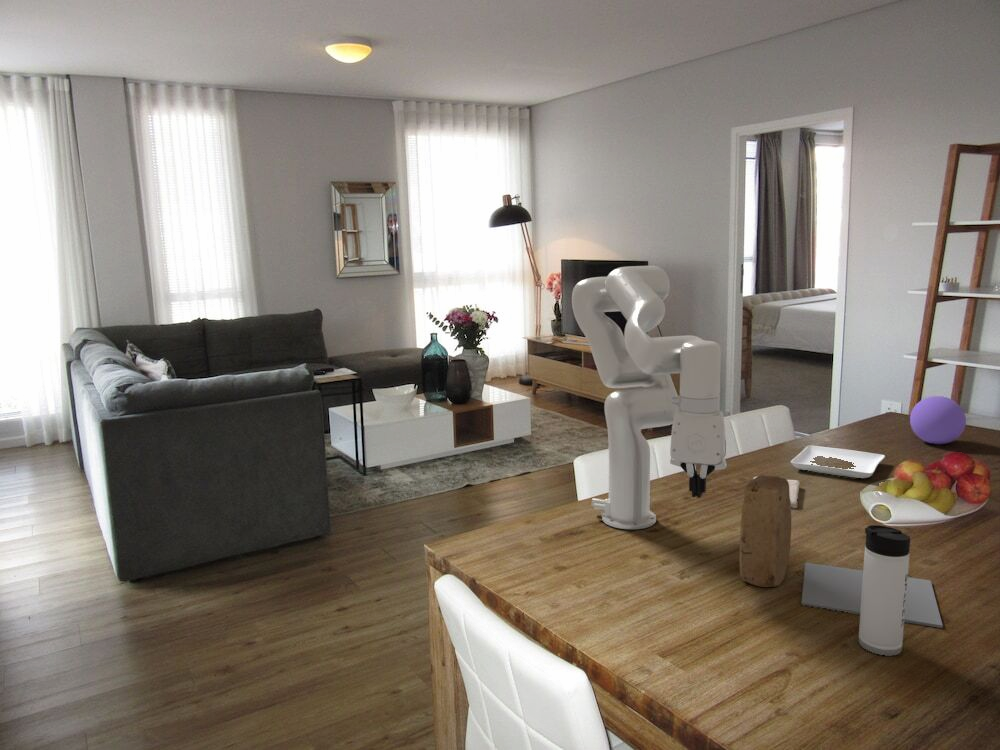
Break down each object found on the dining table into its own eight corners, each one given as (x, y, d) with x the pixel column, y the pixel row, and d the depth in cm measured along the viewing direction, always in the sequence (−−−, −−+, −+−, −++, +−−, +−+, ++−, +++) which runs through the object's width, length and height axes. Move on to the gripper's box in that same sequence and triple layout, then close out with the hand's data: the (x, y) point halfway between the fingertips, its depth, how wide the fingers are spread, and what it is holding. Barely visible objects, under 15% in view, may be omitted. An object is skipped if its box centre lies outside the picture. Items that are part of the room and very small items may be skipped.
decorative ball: (959, 439, 236) (964, 393, 234) (967, 452, 223) (971, 403, 220) (906, 435, 243) (909, 390, 240) (910, 447, 229) (914, 399, 226)
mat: (801, 604, 133) (801, 602, 133) (805, 564, 150) (805, 562, 150) (942, 628, 125) (942, 625, 125) (930, 582, 141) (930, 580, 141)
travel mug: (848, 637, 122) (856, 522, 119) (886, 634, 123) (895, 520, 119) (870, 658, 116) (879, 537, 113) (910, 655, 117) (920, 535, 113)
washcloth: (799, 488, 196) (800, 477, 195) (798, 511, 180) (799, 499, 179) (752, 483, 200) (752, 472, 200) (746, 505, 184) (747, 494, 184)
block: (773, 593, 138) (778, 490, 134) (734, 582, 143) (738, 483, 139) (793, 573, 146) (798, 475, 143) (756, 563, 151) (760, 468, 147)
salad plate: (807, 454, 226) (808, 443, 225) (885, 465, 213) (886, 453, 213) (788, 473, 209) (789, 461, 208) (872, 485, 196) (872, 473, 196)
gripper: (656, 406, 143) (655, 496, 147) (736, 411, 137) (734, 506, 140) (664, 398, 150) (663, 485, 153) (741, 403, 144) (739, 493, 147)
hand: (697, 495), depth 147 cm, fingers closed
